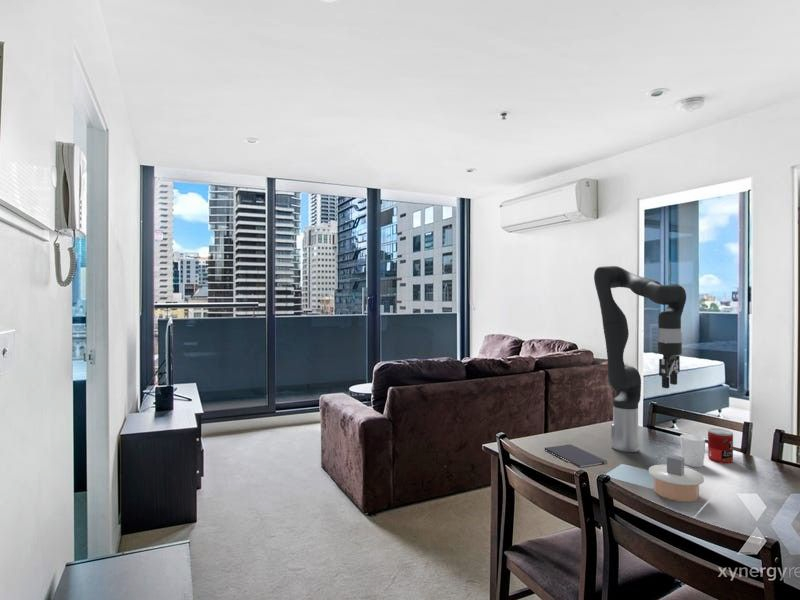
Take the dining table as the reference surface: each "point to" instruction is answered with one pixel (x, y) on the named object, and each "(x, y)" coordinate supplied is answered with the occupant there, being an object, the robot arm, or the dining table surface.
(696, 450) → the white cup
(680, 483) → the lid
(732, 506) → the dining table surface
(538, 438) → the dining table surface
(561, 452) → the notebook
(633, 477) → the mat
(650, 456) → the dining table surface
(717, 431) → the canned food
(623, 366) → the robot arm
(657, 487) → the bowl
